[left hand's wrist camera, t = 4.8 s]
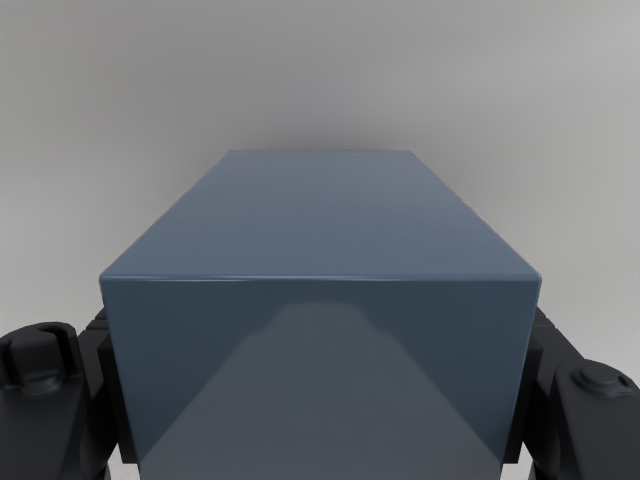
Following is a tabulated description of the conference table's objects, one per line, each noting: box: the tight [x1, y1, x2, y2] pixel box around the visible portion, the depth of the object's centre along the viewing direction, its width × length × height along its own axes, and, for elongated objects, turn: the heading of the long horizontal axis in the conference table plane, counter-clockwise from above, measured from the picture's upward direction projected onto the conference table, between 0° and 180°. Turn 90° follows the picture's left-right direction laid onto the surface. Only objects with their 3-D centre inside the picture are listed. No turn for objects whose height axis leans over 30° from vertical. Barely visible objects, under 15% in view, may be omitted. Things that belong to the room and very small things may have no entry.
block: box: [99, 150, 542, 480], centre depth 12 cm, size 6×6×10 cm
